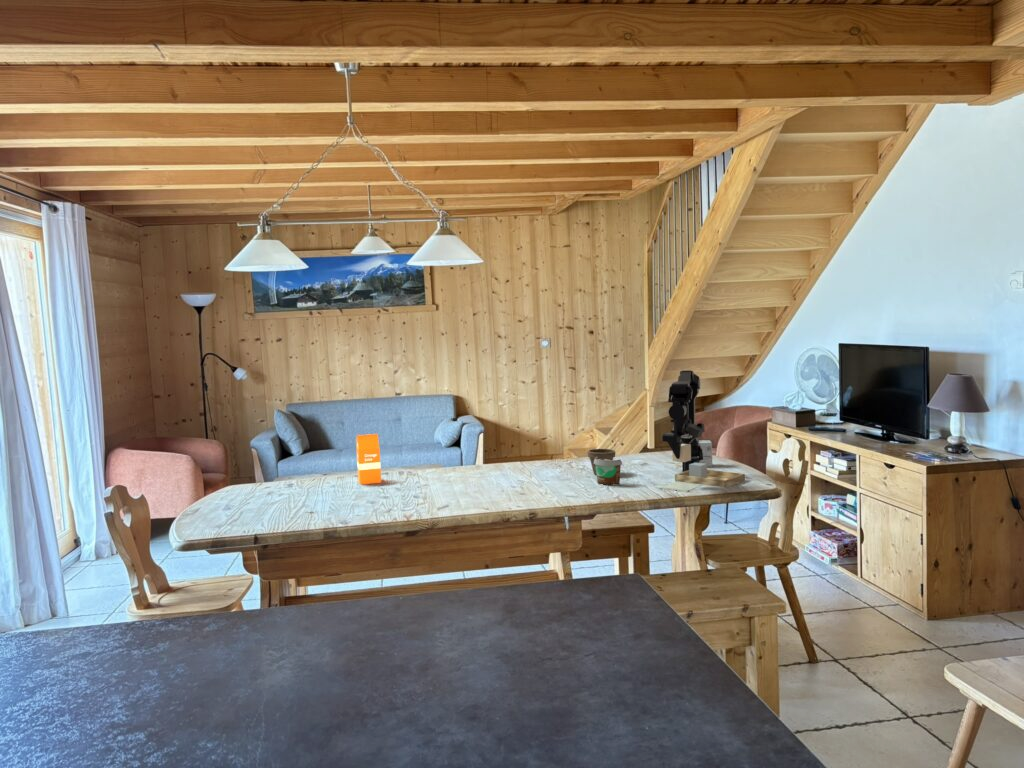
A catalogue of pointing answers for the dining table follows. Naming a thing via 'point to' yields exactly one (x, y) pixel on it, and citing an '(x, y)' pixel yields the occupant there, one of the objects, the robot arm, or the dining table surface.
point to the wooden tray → (712, 478)
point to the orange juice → (368, 459)
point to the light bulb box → (706, 452)
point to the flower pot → (600, 456)
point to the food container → (608, 471)
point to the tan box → (683, 453)
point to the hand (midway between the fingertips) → (681, 457)
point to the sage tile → (681, 486)
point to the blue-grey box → (698, 470)
